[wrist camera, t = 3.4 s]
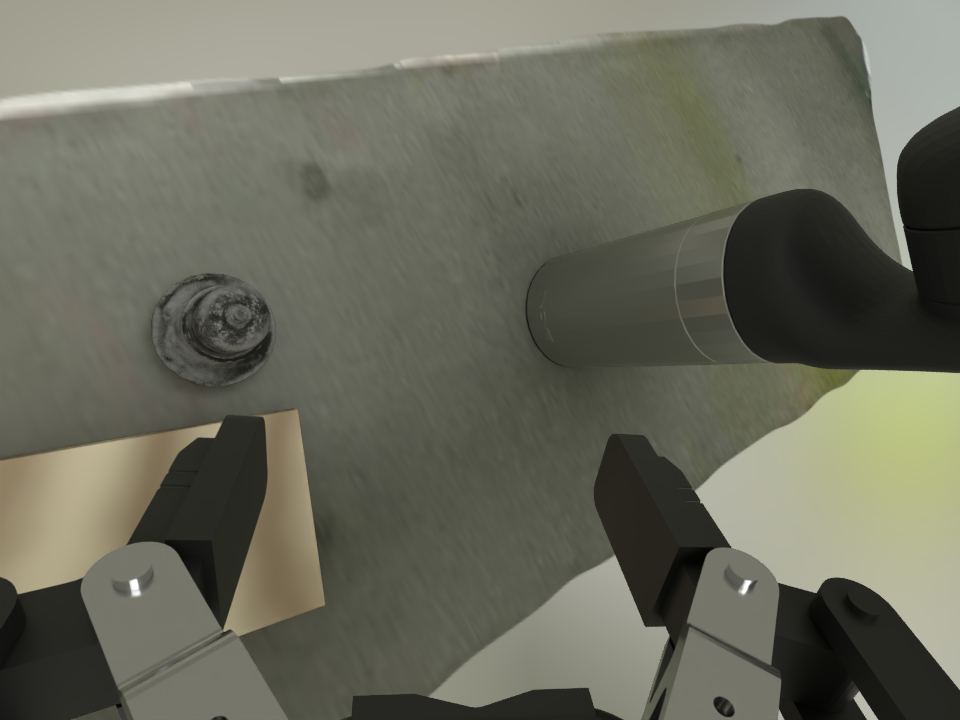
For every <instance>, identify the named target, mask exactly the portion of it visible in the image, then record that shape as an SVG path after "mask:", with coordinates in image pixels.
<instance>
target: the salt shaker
mask: <svg viewBox="0 0 960 720" xmlns="http://www.w3.org/2000/svg"><path fill="white" fill-rule="evenodd" d="M151 333H152V340H153V343H154V346H155V349H156V352H157V354H158V355H159V357H160V358H161V359H162V361H163V362H164V364H165V365H166V366H167V367H168V368H169V369H170V370H172V371H173V372H174V373H175V374H176V375H178V376H179V377H181V378H183V379H185V380H188V381H190V382H192V383H194V384H200V385H205V386H210V387H212V386H228V385H231V384H235V383H238V382H241V381H243V380H245V379H247V378H248V377H250V376H252V375H253V374H255V373H256V372H257V371H258V370H259V369H260V368H261V367H262V366H263V365H264V364H265V363H266V361H267V359H268V357H269V356H270V354H271V352H272V350H273V346H274V342H275V338H276V333H275V321H274V318H273V314H272V311H271V309H270V307H269V306H268V304H267V302H266V301H265V299H264V298H263V297H262V296H261V295H260V294H259V293H258V292H257V291H256V290H255V289H254V288H253V287H252V286H250V285H248V284H247V283H245V282H243V281H241V280H240V279H237V278H234V277H230V276H227V275H224V274H202V275H197V276H191V277H189V278H187V279H185V280H183V281H180V282H178V283H176V284H175V285H174V286H173V287H171V288H170V289H169V290H168V291H167V292H166V293H164V295H163V296H162V298H161V299H160V301H159V302H158V304H157V305H156V307H155V310H154V314H153V317H152V321H151Z"/></svg>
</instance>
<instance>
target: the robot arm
mask: <svg viewBox="0 0 960 720" xmlns="http://www.w3.org/2000/svg"><path fill="white" fill-rule="evenodd" d="M897 194H898V203H899V209H900V214H901V218H902V222H903V224H904V226H903V228H904V232H905V237H906V241H907V245H908V251H909V255H910V259H911V264H912V268H913V271H911V270H909V269H907V268H905V267H904V266H902V265H900V264H899V263H897V262H896V261H894V260H893V259H891V258H890V257H889V256H888V255H886V254H885V253H884V252H883V251H882V250H881V249H880V248H879V247H878V246H877V245H876V244H875V243H874V242H873V241H872V240H871V239H870V238H869V237H868V235H867V234H866V233H865V231H864V230H863V229H862V228H861V226H860V225H859V224H858V222H857V221H856V220H855V218H854V217H853V216H852V215H851V213H850V212H849V211H848V210H847V209H846V208H845V207H844V206H843V205H842V204H841V203H840V202H839V201H837V200H836V199H835V198H834V197H832V196H830V195H828V194H826V193H824V192H822V191H819V190H814V189H796V190H790V191H786V192H782V193H778V194H775V195H771V196H768V197H764V198H761V199H758V200H754V201H751V202H747V203H744V204H740V205H737V206H733V207H730V208H726V209H723V210H719V211H716V212H712V213H709V214H706V215H703V216H699V217H696V218H692V219H689V220H685V221H682V222H678V223H675V224H671V225H668V226H665V227H661V228H658V229H654V230H651V231H647V232H644V233H640V234H637V235H633V236H630V237H626V238H623V239H619V240H616V241H612V242H609V243H605V244H602V245H598V246H595V247H591V248H587V249H584V250H580V251H577V252H574V253H570V254H567V255H563V256H560V257H557V258H554V259H552V260H550V261H549V262H547V263H546V264H544V265H543V267H542V268H541V269H540V270H539V271H538V272H537V274H536V276H535V277H534V279H533V281H532V284H531V287H530V290H529V293H528V301H527V317H528V322H529V327H530V330H531V333H532V335H533V338H534V340H535V342H536V343H537V345H538V346H539V348H540V350H541V351H542V352H543V353H544V354H545V355H546V356H547V357H548V358H549V359H551V360H552V361H554V362H555V363H557V364H559V365H562V366H565V367H633V366H678V365H723V364H759V363H800V364H804V365H808V366H812V367H818V368H825V369H855V370H899V371H927V372H949V373H960V107H958V108H956V109H954V110H952V111H950V112H948V113H946V114H944V115H942V116H940V117H939V118H937V119H935V120H934V121H933V122H931V123H930V124H928V125H927V126H925V127H924V128H922V129H921V130H920V131H919V132H918V133H916V134H915V135H914V136H913V137H912V138H911V139H910V141H909V142H908V143H907V145H906V146H905V147H904V149H903V150H902V152H901V154H900V156H899V160H898V165H897ZM267 479H268V467H267V448H266V429H265V420H264V418H263V417H256V416H234V415H227V416H226V417H225V418H224V420H223V422H222V424H221V426H220V428H219V430H218V432H217V434H216V436H215V438H203V437H198V438H196V439H195V440H194V441H193V442H191V443H190V444H189V445H187V446H186V447H185V448H184V449H182V450H181V451H180V452H179V453H178V454H177V456H176V458H175V460H174V461H173V463H172V465H171V467H170V469H169V472H168V474H166V476H165V477H164V479H163V481H162V483H161V484H160V489H158V490H157V491H156V493H155V495H154V497H153V499H152V500H151V502H150V504H149V506H148V507H147V509H146V511H145V513H144V514H143V516H142V518H141V520H140V522H139V523H138V525H137V527H136V529H135V530H134V532H133V534H132V536H131V537H130V539H129V541H128V543H127V544H126V546H123V547H120V548H118V549H116V550H114V551H112V552H110V553H108V554H106V555H105V556H103V557H102V558H101V559H99V560H98V561H97V562H96V563H95V564H94V565H93V566H92V567H91V568H90V569H89V570H88V571H87V573H86V575H85V576H84V577H83V578H80V579H78V580H75V581H71V582H68V583H64V584H60V585H55V586H51V587H47V588H43V589H38V590H34V591H30V592H25V593H21V594H18V593H17V591H16V588H15V586H14V585H13V584H12V582H10V581H9V580H7V579H5V578H2V577H0V720H70V719H73V718H76V717H79V716H83V715H86V714H89V713H92V712H95V711H98V710H101V709H104V708H107V707H110V706H113V705H114V707H115V709H116V712H117V715H118V717H119V720H288V718H287V717H286V715H285V713H284V712H283V710H282V708H281V707H280V705H279V703H278V702H277V700H276V698H275V697H274V695H273V693H272V692H271V690H270V688H269V687H268V685H267V683H266V682H265V680H264V678H263V677H262V675H261V673H260V672H259V670H258V668H257V667H256V665H255V663H254V662H253V660H252V658H251V657H250V655H249V653H248V652H247V650H246V648H245V647H244V645H243V643H242V642H241V640H240V639H239V637H238V636H237V635H236V633H235V632H234V631H232V630H231V629H229V630H227V631H226V632H224V631H223V629H224V626H225V623H226V620H227V617H228V614H229V610H230V607H231V604H232V601H233V598H234V594H235V591H236V588H237V585H238V582H239V579H240V575H241V572H242V569H243V566H244V563H245V560H246V556H247V553H248V550H249V547H250V544H251V541H252V537H253V534H254V531H255V528H256V525H257V522H258V518H259V515H260V512H261V509H262V506H263V503H264V499H265V495H266V489H267ZM594 501H595V506H596V509H597V512H598V514H599V517H600V519H601V521H602V524H603V526H604V529H605V531H606V533H607V536H608V538H609V541H610V543H611V545H612V548H613V550H614V553H615V555H616V557H617V560H618V562H619V565H620V567H621V570H622V572H623V574H624V577H625V579H626V581H627V584H628V586H629V589H630V591H631V594H632V596H633V598H634V601H635V603H636V605H637V608H638V611H639V613H640V615H641V618H642V620H643V622H644V625H645V626H646V627H659V626H666V628H667V631H668V633H669V635H670V636H669V638H668V640H667V642H666V644H665V647H664V650H663V653H662V656H661V659H660V662H659V666H658V669H657V672H656V675H655V678H654V681H653V684H652V687H651V691H650V694H649V697H648V700H647V703H646V706H645V710H644V712H643V716H642V718H641V720H778V711H779V710H780V712H781V714H782V716H783V718H784V719H785V720H867V719H866V718H865V716H864V714H863V713H862V711H861V710H860V708H859V707H858V705H857V704H856V702H855V700H854V699H853V698H854V697H855V695H856V694H857V693H858V692H859V691H860V692H861V694H862V695H863V697H864V698H865V700H866V702H867V703H868V705H869V706H870V708H871V709H872V711H873V712H874V714H875V715H876V717H877V718H878V720H960V690H959V689H958V687H957V686H956V685H955V684H954V683H953V681H952V680H951V679H950V678H949V676H948V675H947V674H946V673H945V671H944V670H943V669H942V668H941V667H940V665H939V664H938V663H937V662H936V660H935V659H934V658H933V657H932V655H931V654H930V653H929V652H928V651H927V650H926V648H925V647H924V646H923V644H922V643H921V642H920V641H919V639H918V638H917V637H916V636H915V635H914V633H913V632H912V631H911V630H910V628H909V627H908V626H907V625H906V624H905V622H904V621H903V620H902V619H901V617H900V616H899V615H898V614H897V612H896V611H895V610H894V609H893V608H892V607H891V606H890V604H889V603H888V602H886V601H885V600H884V599H883V598H882V597H881V596H880V595H878V594H877V593H875V592H874V591H872V590H871V589H869V588H867V587H866V586H864V585H862V584H860V583H857V582H855V581H852V580H848V579H845V578H830V579H827V580H825V581H824V583H822V585H821V587H820V588H819V590H818V592H817V593H813V592H809V591H805V590H802V589H798V588H795V587H791V586H787V585H784V584H780V583H777V581H776V579H775V577H774V576H773V574H772V573H771V572H770V570H769V569H768V568H767V567H766V566H765V565H764V564H762V563H761V562H760V561H758V560H757V559H756V558H754V557H752V556H751V555H749V554H747V553H744V552H742V551H739V550H736V549H732V548H731V546H730V545H729V544H728V542H727V540H726V539H725V537H724V536H723V534H722V533H721V531H720V529H719V528H718V526H717V525H716V523H715V522H714V520H713V519H712V517H711V516H710V514H709V513H708V511H707V510H706V508H705V507H704V505H703V504H702V503H700V499H699V498H698V496H697V494H696V493H695V491H694V490H692V487H691V485H690V484H689V482H688V481H687V479H686V478H685V476H684V474H683V473H682V471H681V470H679V469H678V468H677V467H676V466H675V465H673V464H672V463H671V462H670V461H669V460H667V459H666V458H665V457H658V456H657V454H656V453H655V451H654V449H653V448H652V446H651V444H650V443H649V441H648V440H647V438H646V437H645V436H643V435H626V434H612V435H611V436H610V437H609V439H608V442H607V445H606V448H605V452H604V455H603V458H602V462H601V465H600V468H599V471H598V475H597V478H596V481H595V486H594ZM342 720H623V719H621V718H619V717H617V716H615V715H613V714H610V713H608V712H605V711H602V710H599V709H595V708H594V706H593V702H592V699H591V695H590V692H589V689H588V688H573V689H544V690H532V691H529V692H526V693H522V694H520V695H516V696H513V697H510V698H507V699H504V700H501V701H498V702H495V703H492V704H490V705H486V706H483V707H477V708H474V707H468V706H464V705H459V704H455V703H451V702H446V701H442V700H438V699H434V698H429V697H425V696H421V695H416V694H399V695H370V696H353V705H352V716H351V717H348V718H345V719H342Z"/></svg>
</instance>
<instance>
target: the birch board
mask: <svg viewBox="0 0 960 720" xmlns="http://www.w3.org/2000/svg"><path fill="white" fill-rule="evenodd" d="M252 416H256V417H263V418H264V420H265V429H266V448H267V467H268V479H267V489H266V495H265V499H264V503H263V506H262V509H261V512H260V515H259V518H258V522H257V525H256V528H255V531H254V534H253V537H252V541H251V544H250V547H249V550H248V553H247V556H246V560H245V563H244V566H243V569H242V572H241V575H240V579H239V582H238V585H237V588H236V591H235V594H234V598H233V601H232V604H231V607H230V610H229V614H228V617H227V620H226V623H225V626H224V629H223V631H224V632H226V631H227V630H229V629H231V630H232V631H234V632H235V633H236V635H237V636H241V635H244V634H246V633H249V632H252V631H255V630H257V629H260V628H263V627H266V626H269V625H271V624H274V623H277V622H280V621H282V620H285V619H288V618H291V617H293V616H296V615H299V614H302V613H305V612H307V611H310V610H313V609H316V608H318V607H321V606H324V605H325V600H324V593H323V586H322V579H321V571H320V564H319V557H318V550H317V543H316V536H315V529H314V522H313V515H312V508H311V500H310V493H309V486H308V479H307V472H306V465H305V458H304V451H303V444H302V437H301V429H300V422H299V415H298V409H287V410H281V411H275V412H269V413H264V414H258V415H252ZM222 422H223V421H217V422H211V423H205V424H199V425H194V426H188V427H182V428H176V429H170V430H164V431H159V432H153V433H147V434H141V435H135V436H129V437H124V438H118V439H112V440H106V441H100V442H94V443H89V444H83V445H77V446H71V447H65V448H59V449H54V450H48V451H42V452H36V453H30V454H24V455H19V456H13V457H7V458H1V459H0V577H2V578H5V579H7V580H9V581H10V582H12V584H13V585H14V586H15V588H16V591H17V593H18V594H21V593H25V592H30V591H34V590H38V589H43V588H47V587H51V586H55V585H60V584H64V583H68V582H71V581H75V580H78V579H80V578H83V577H84V576H85V575H86V573H87V571H88V570H89V569H90V568H91V567H92V566H93V565H94V564H95V563H96V562H97V561H98V560H99V559H101V558H102V557H103V556H105V555H106V554H108V553H110V552H112V551H114V550H116V549H118V548H120V547H123V546H126V544H127V543H128V541H129V539H130V537H131V536H132V534H133V532H134V530H135V529H136V527H137V525H138V523H139V522H140V520H141V518H142V516H143V514H144V513H145V511H146V509H147V507H148V506H149V504H150V502H151V500H152V499H153V497H154V495H155V493H156V491H157V490H158V489H160V484H161V483H162V481H163V479H164V477H165V476H166V474H168V472H169V469H170V467H171V465H172V463H173V461H174V460H175V458H176V456H177V454H178V453H179V452H180V451H181V450H182V449H184V448H185V447H186V446H187V445H189V444H190V443H191V442H193V441H194V440H195V439H196V438H198V437H203V438H215V436H216V434H217V432H218V430H219V428H220V426H221V424H222Z"/></svg>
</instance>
